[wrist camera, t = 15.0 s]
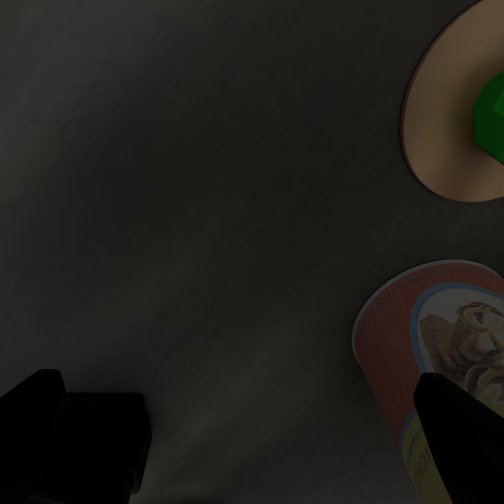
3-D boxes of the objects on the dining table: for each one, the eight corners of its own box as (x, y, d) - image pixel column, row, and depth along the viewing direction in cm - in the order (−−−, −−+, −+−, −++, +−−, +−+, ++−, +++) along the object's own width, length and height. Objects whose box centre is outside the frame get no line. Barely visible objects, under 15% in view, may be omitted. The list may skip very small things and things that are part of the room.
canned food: (504, 232, 20) (810, 397, 9) (514, 354, 25) (723, 554, 14) (331, 297, 22) (425, 501, 11) (372, 400, 27) (464, 610, 16)
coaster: (379, 196, 19) (382, 198, 18) (434, -25, 14) (439, -28, 14) (542, 204, 19) (547, 206, 19) (643, -5, 15) (653, -8, 15)
